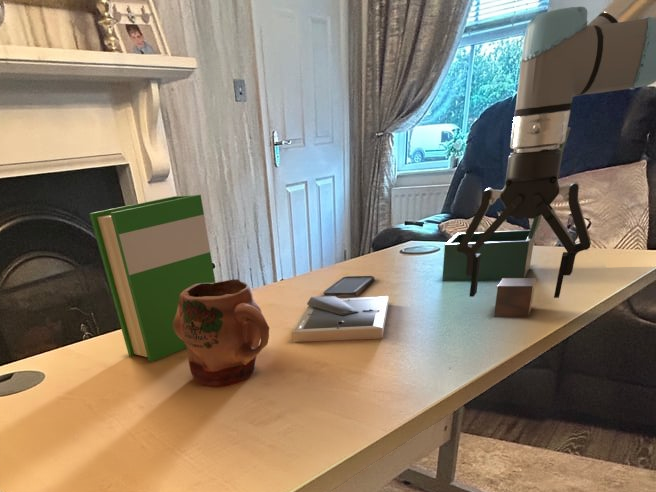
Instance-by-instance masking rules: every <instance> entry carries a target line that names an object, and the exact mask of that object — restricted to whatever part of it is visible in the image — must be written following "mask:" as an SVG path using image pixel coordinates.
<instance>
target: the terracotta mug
mask: <svg viewBox="0 0 656 492" xmlns="http://www.w3.org/2000/svg"><path fill="white" fill-rule="evenodd" d="M173 327H174V330H175V332H176V334H177V335H178V337H179V338H181V339H182V340H183V341H184V343H185V344H186V347H187V348H186V350H187V357H188V366H189V371H190V373H191V375H192V379H194V381H195V382H196V383H197V384H199V385H201V386H205V387H208V388H226V387H229V386H232V385H235V384H239V383H241V382H244V381H245V380H248V379H249V378H250V377H251V376H253V374H254V372H255V369H256V360H257V356H258V355H259V354H260V353H261V351H262V350H263V349H264V348H265V347H267V345H268V343H269V340H270V339H269V338H270V326H269V324H268V322H267V320H266V318H265V316H264V314H263V311H262V309H261V307H260V306H259V304H258V303H257V301H255V299H254V295H253V293H252V290H251V287H250V286H249V285H248V284H247V283H246V282H245V281H241V280H240V279H238V278H237V279H228V280H220V281H215V283H202V284H195V285H192V286H191V287H189V288H187V289H185V290H184V291H182V293H180V296H179V303H178V309H177V313H176V316H175V318H174V322H173Z"/></svg>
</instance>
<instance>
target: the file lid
mask: <svg viewBox="0 0 656 492" xmlns="http://www.w3.org/2000/svg"><path fill="white" fill-rule="evenodd" d="M570 132H571V127H569V126H567V132H566V137H565V141H564V142H563V143H562V144H560V146H559V148H561V149H562V151H563V152H564V149H565V147H566V144H567V140H568V137H569V135H570ZM542 217H543V216H542V215H540V216H539V217H537V218H535V219H532V224H531V226H530V229H529V230H530V233H529V236H528V239H532V238H533V236H534V234H535V235H536V233H537V230H538V228H539V226H540V223H541V220H542Z"/></svg>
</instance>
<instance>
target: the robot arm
mask: <svg viewBox="0 0 656 492" xmlns="http://www.w3.org/2000/svg"><path fill="white" fill-rule="evenodd" d="M522 45H523V46H522V52H521V57H520V61H519V64H520V67H519V73H518V75H519V76H518V84H517V91H516V92H517V93H516V100H515V101H516V103H515V109H514V117H513V123H512V128H511V129H512V130H511V136H510V143H509V144H510V145H509V147H510V149H512V150H513V151H512V152H510V155H508V161H507V166H506V167H507V168H506V173H505V174H506V175H505V182H504V186H503V189H493V187H488V188H486V189H485V190H484V191H483V192H482V197H481V202H480V205H479V208H478V209H477V211H476V212H475V215H474V217H473V218H472V220H471V222H470V224H469V225H468V227H467V229H466V230H465V232H464V233H465V234H464V236H463V238H462V240H461V242H460V244H459V245H458V247H457V251H458V252H459V253H464V254H466V255H467V265H466V275H467V276H472V278H471V281H470V289H469V298H470V297H472V298H474V297H475V296H476V294H477V291H478V284H479V281H478V276H479V267H480V258H481V254H476V252H477V251H478V250H479V248H480V247H481V246H482V245H483V244H484V243H485V242H486V241H487V240H488V239H489V237H490V236H491V235H492V234H493V233H494V232H497V230H498V229H499V228H500V227H501V225H502V224H503V223H504V222H505V221H506V220H507V219H508V218H509V217H511V218H512V219H514V220H522V219H524V218H525V219H528V220H529V219H530V220H534V219H535V218H537V217H539V216H540V215H542V217H543V219H544V220H545V222H546V223H547V224H548V226H549V227H550V229H551V230H552V231H553V233H554V234H555V236H556V237H557V239H558V240H559V242H560V243H561V245H562V247H563V248H564V249H565V250H566V251H563V252H562V254H561V259H560V264H559V270H558V274H557V280H556V285H555V290H554V294H553V298H554V299H559V298H560V295H561V292H562V291H561V290H562V285H563V281H564V276H571V275H572V273H573V270H574V265H575V259H576V257H577V254H578V253H581V252H583V251H588V250H589V249H590V248H591V244H592V241H591V237H590V233H589V230H588V227H587V224H586V219H585V217H584V213H583V210H582V207H581V203H580V201H579V192H580V191H579V190H580V183H579V182H577V181H573V182H572V183H571V184H565V185H559V176H560V171H561V164H562V160H563V154H564V150H563V151H562V149H561V148H559V146H560V144H562V143H563V142H564V141H565V137H566V132H567V127H569V126H568V125H569V121H570V115H571V109H572V103H573V98H574V97H578V96H585V95H593V94H601V93H608V92H615V91H621V90H622V91H623V90H631V91H633V90H635V89H636V88H637V89H638V88H642V87H647V86H651V85H654V83H656V0H613V1H611V3H609V5H607V6H606V7H605V8H604V9H603V10H602V11H601V12H600V13H599V14H598V15H597V16H595V18H594V19H592V20H591V21H590V22H589V21H588V9H587V8H586V7H585V6H571V7H570V6H569V7H564V8H557V9H552V10H549V11H545V12H542V13H539V14H537V15H535V16H534V17H533V18H531V20H530V21H529V22H528V24H527V27H526V30H525V36H524V40H523V44H522ZM558 195H561V196H562V199H563V201H566V202H567V201H568V207H569V210H570V214H571V217H572V220H573V224H574V227H575V230H576V234H577V237H578V242H575V240H574V239H573V237H572V236H571V234H570V233H569V231H568V230H567V228H566V226H565V225H564V224H563V222H562V221H561V219H560V217H559V216H558V215H557V213H556V211H555V210H554V208H553V207H552V205H551V204H552V203H553V202H554V201H555V199H557V197H558ZM498 199H500V201H501V202H502V205H503V206H504V208H505V209H504V210H502V212H501V213H500V214H499V215H498V217H497V218H496V219H494V220H493V222H492V223H491V224H490V225H489V226H488V228H486V230H485V231H483V232H484V233H483V235H482V236H481V237H480V238H479V239H478V240H477V241H476V242H475V243H474V245H473V246H471V245H468V244H469V242H470V240H471V238H472V237H473V235H474V233H475V232H476V231H477V229H478V228H479V226H480V224H481V223H482V221H483V219H484V217H485V215H486V214H487V212H488V211H489V208H490V206H492V205H494V204H495V203H496V201H497V200H498Z"/></svg>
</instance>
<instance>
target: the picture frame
mask: <svg viewBox="0 0 656 492" xmlns="http://www.w3.org/2000/svg"><path fill="white" fill-rule="evenodd" d="M306 305H307V307H306V309H305V311H304V312H303V314H302V315H301V317H300V319H299V321H298V323H297V324H296V325H295V327H294V329H293V330H292V332H291V333H292V342H293V343H299V342H300V343H303V342H324V341H349V340H373V339H383V336H384V331H385V325H386V320H387V314H388V309H389V295H379V296H363V297H361V296H360V297H344V298H339V297H335V296H326V297H324V296H310V298H309V299H308V301H307V303H306Z"/></svg>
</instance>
